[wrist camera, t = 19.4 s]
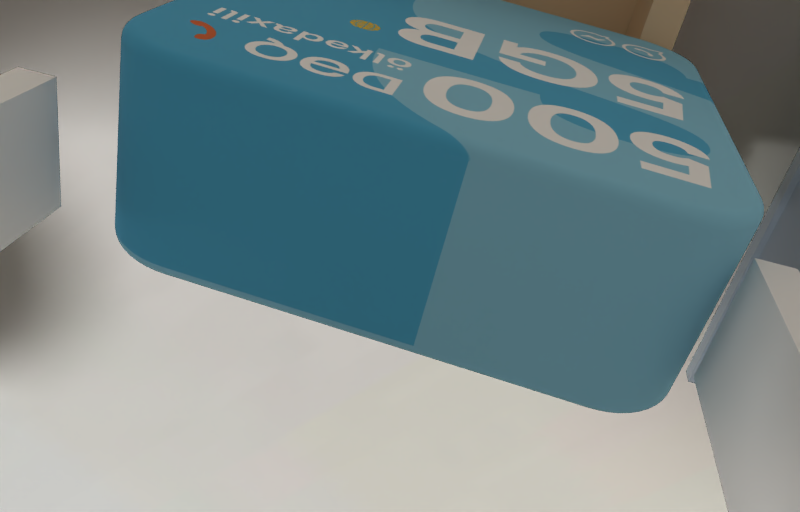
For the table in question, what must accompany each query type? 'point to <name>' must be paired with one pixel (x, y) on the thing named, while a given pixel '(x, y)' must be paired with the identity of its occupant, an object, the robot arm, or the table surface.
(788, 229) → the lid
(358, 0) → the data package
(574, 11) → the light brown shallow tray
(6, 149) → the robot arm
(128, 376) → the table surface
